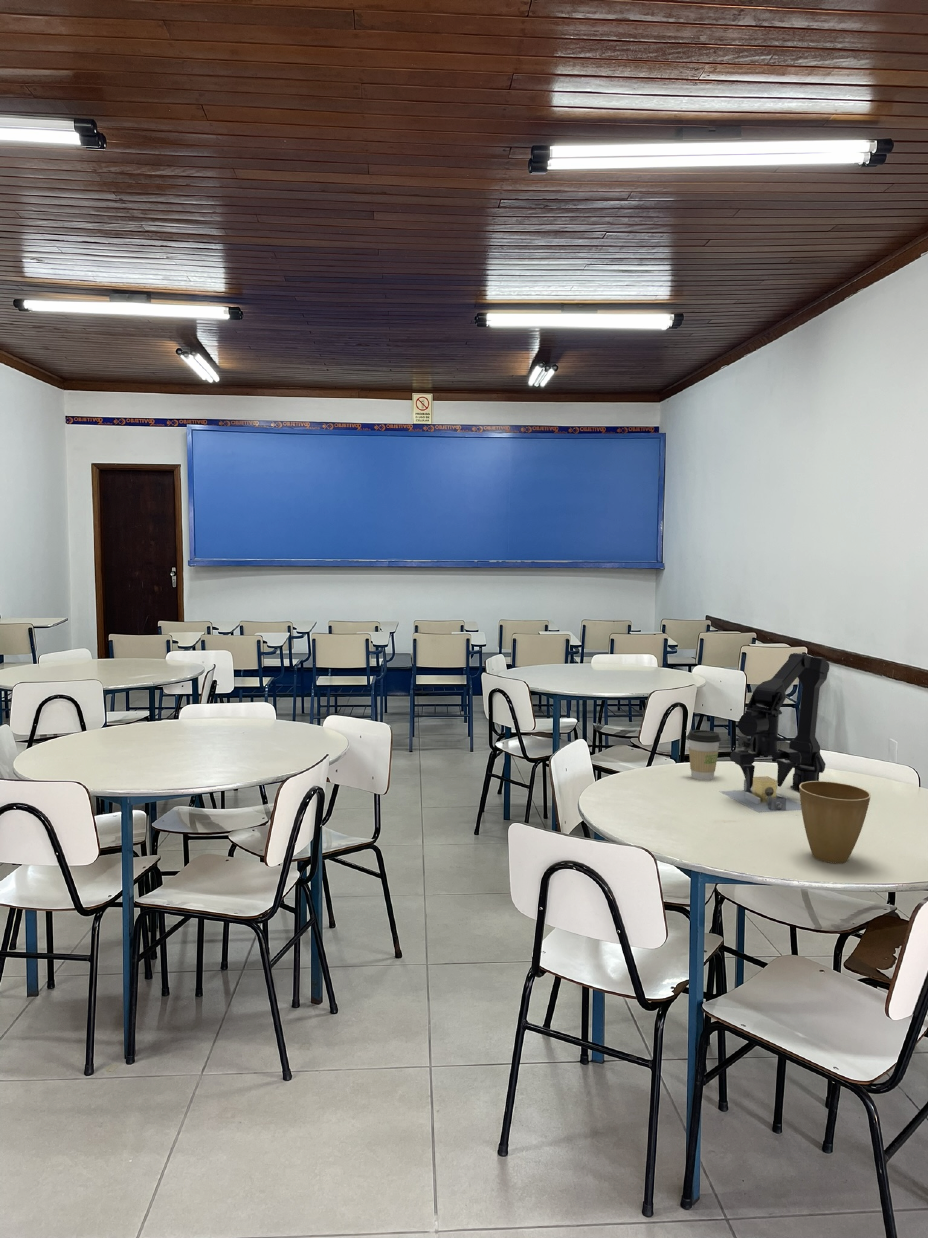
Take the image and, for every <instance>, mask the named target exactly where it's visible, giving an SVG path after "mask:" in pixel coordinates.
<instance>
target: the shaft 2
mask: <svg viewBox="0 0 928 1238" xmlns="http://www.w3.org/2000/svg"><path fill="white" fill-rule="evenodd" d="M785 797H786V796H785ZM785 797H773V796H768V797H767V798H766V803H767V804H768V808H769V809H770V810H786V798H785Z"/></svg>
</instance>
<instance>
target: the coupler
mask: <svg viewBox="0 0 928 1238" xmlns="http://www.w3.org/2000/svg"><path fill="white" fill-rule="evenodd" d="M777 788H778V785H777V779H774V778H773V777H770V776H765V775H764V776H753V795H754V796H756V797H758V798H760V802H761V803H765V802H766V798H767V797H768V796H773V797H776V793H778V791H777Z"/></svg>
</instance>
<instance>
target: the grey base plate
mask: <svg viewBox="0 0 928 1238" xmlns="http://www.w3.org/2000/svg"><path fill="white" fill-rule="evenodd" d="M718 792H719V793H721V794H723V795H725V796H727V797H729V798H730V799H733V800H734V801H736V802H738V803H740V804H742V805H744V806H745V807H747V808H750V809H751V810H753V811H754V812H757V813H773V812H789V811H792V812H794V811H802V810H801V802H797V801H795V800H793V799H791V798H790V797H787V796H785V795H783V794H781V793H778V792H776V797H785V798H786V810H770V809H769V808H768V804H767V803H766V802H765V803H761V802H760V798H758V797H756V796H754V795H753V793H752V792H745V791H744V789H743V790H725V791H721V790H720V791H718Z"/></svg>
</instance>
